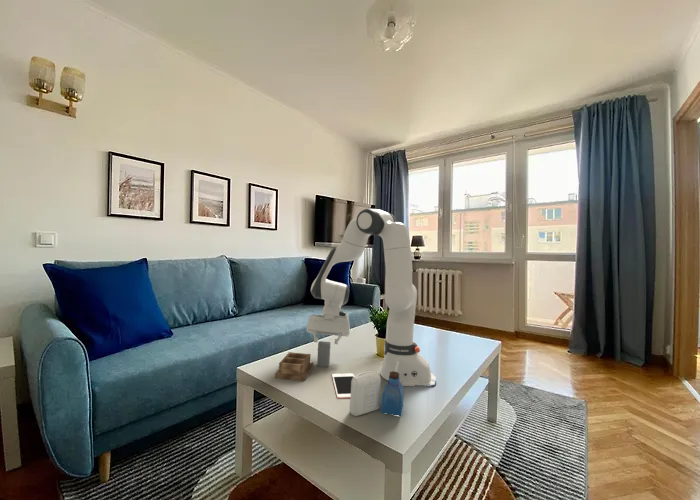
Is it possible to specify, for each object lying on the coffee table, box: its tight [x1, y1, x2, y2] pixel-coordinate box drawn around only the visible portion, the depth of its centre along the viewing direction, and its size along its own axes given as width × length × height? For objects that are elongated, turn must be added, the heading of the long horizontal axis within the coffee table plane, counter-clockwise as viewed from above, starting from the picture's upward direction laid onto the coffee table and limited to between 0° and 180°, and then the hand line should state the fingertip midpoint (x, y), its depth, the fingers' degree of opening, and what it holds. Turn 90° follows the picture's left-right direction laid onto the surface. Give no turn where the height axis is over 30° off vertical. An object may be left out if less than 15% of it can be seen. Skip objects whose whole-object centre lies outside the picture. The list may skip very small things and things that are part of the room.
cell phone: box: [331, 373, 355, 400], centre depth 109 cm, size 9×18×1 cm, turn 10°
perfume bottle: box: [380, 371, 405, 417], centre depth 94 cm, size 6×6×12 cm
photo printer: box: [349, 370, 382, 417], centre depth 93 cm, size 10×4×12 cm, turn 124°
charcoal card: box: [316, 340, 331, 368], centre depth 126 cm, size 5×2×10 cm, turn 84°
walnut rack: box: [274, 351, 314, 382], centre depth 118 cm, size 12×14×6 cm
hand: (325, 342), depth 130 cm, fingers open, 8 cm apart
